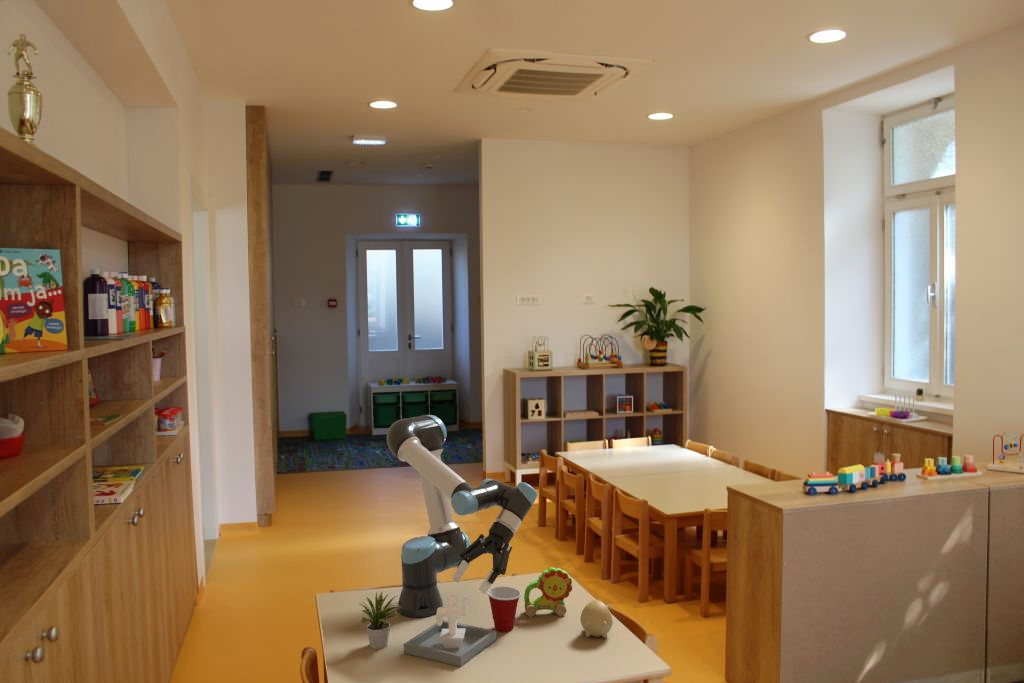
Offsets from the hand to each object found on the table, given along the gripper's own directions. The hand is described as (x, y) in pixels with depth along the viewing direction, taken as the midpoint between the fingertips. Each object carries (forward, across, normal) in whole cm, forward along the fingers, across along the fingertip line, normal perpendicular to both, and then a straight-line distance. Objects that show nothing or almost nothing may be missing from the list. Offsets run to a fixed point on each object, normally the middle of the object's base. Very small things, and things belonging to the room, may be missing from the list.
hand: (468, 585), depth 247 cm
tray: (+17, 0, -7) cm, 18 cm away
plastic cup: (+3, -1, -22) cm, 22 cm away
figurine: (+16, -1, -7) cm, 18 cm away
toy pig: (-10, -24, -34) cm, 43 cm away
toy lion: (-10, -2, -34) cm, 36 cm away
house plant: (+29, +15, +5) cm, 33 cm away
